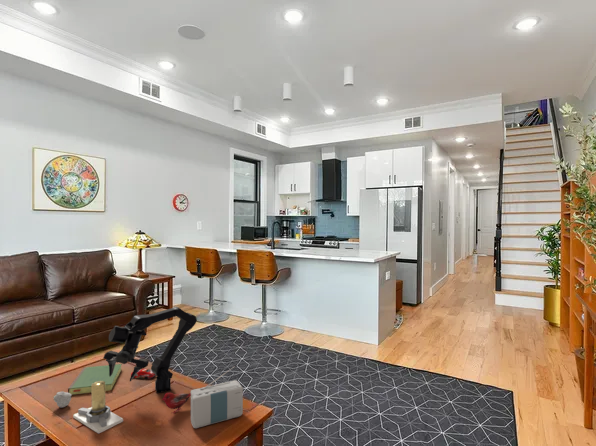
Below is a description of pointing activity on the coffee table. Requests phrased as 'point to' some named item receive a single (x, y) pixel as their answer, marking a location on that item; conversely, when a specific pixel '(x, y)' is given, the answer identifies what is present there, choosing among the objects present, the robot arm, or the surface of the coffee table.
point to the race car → (144, 374)
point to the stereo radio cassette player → (216, 403)
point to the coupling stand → (97, 419)
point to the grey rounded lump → (62, 399)
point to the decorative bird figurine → (175, 400)
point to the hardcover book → (94, 379)
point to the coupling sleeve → (98, 398)
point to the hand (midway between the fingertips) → (120, 378)
